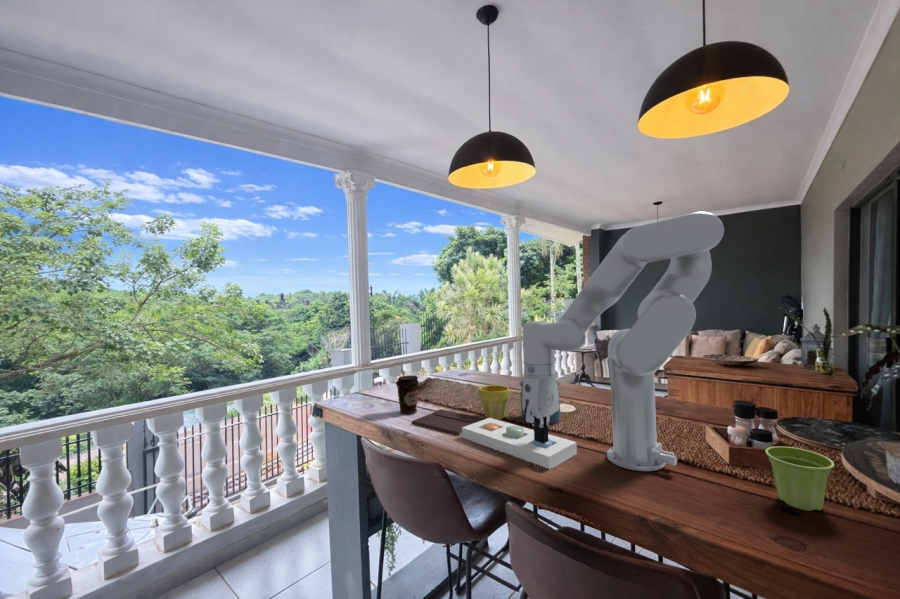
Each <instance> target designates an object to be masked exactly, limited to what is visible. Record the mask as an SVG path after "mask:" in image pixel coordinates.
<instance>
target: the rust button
mask: <svg viewBox="0 0 900 599" xmlns="http://www.w3.org/2000/svg"><path fill="white" fill-rule="evenodd" d="M483 429H485V430H488V431H491V432H492V431H494V430H497V429H499V425H498V424H495V423H487V424H484V425H483Z"/></svg>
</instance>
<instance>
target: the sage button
mask: <svg viewBox="0 0 900 599" xmlns="http://www.w3.org/2000/svg"><path fill="white" fill-rule="evenodd" d="M520 426H521V425H517V426H509V427H507V428H506V436H507V437H510V438H513V439H516V440H517V439H519V438H521V437H524V428H525V427H524V428H522V427H523V426H521V427H520Z"/></svg>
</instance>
